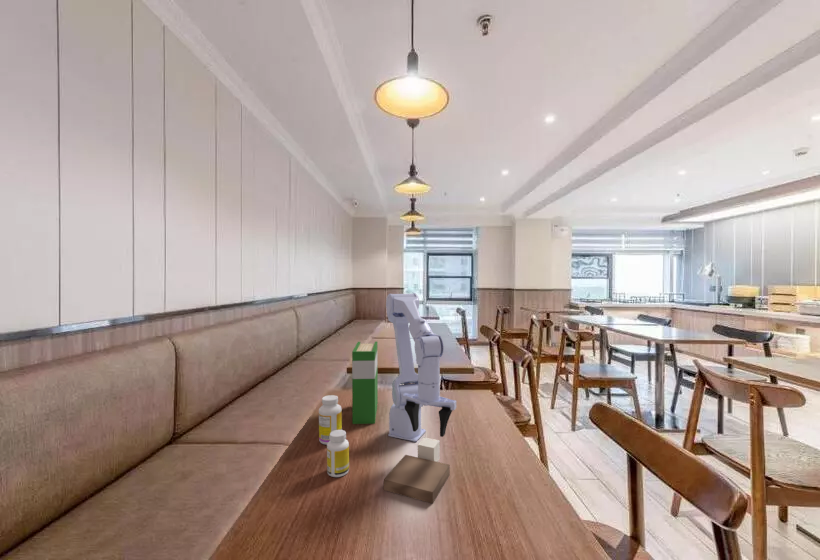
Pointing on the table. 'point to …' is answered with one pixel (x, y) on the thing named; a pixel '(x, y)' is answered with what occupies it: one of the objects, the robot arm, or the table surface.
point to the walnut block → (417, 478)
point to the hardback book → (364, 383)
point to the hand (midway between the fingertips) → (428, 432)
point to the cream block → (429, 449)
